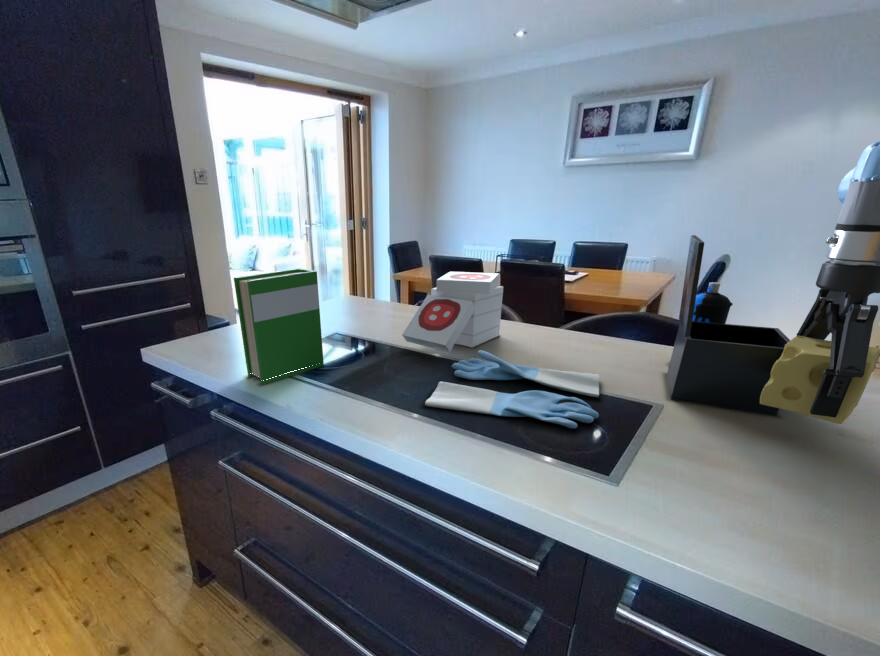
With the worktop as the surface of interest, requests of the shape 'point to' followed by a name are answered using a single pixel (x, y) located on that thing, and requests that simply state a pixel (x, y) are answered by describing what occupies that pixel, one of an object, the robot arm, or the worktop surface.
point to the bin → (725, 365)
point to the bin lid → (691, 283)
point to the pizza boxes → (458, 312)
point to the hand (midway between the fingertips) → (808, 397)
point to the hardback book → (280, 322)
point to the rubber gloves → (521, 403)
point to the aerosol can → (711, 306)
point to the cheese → (810, 378)
